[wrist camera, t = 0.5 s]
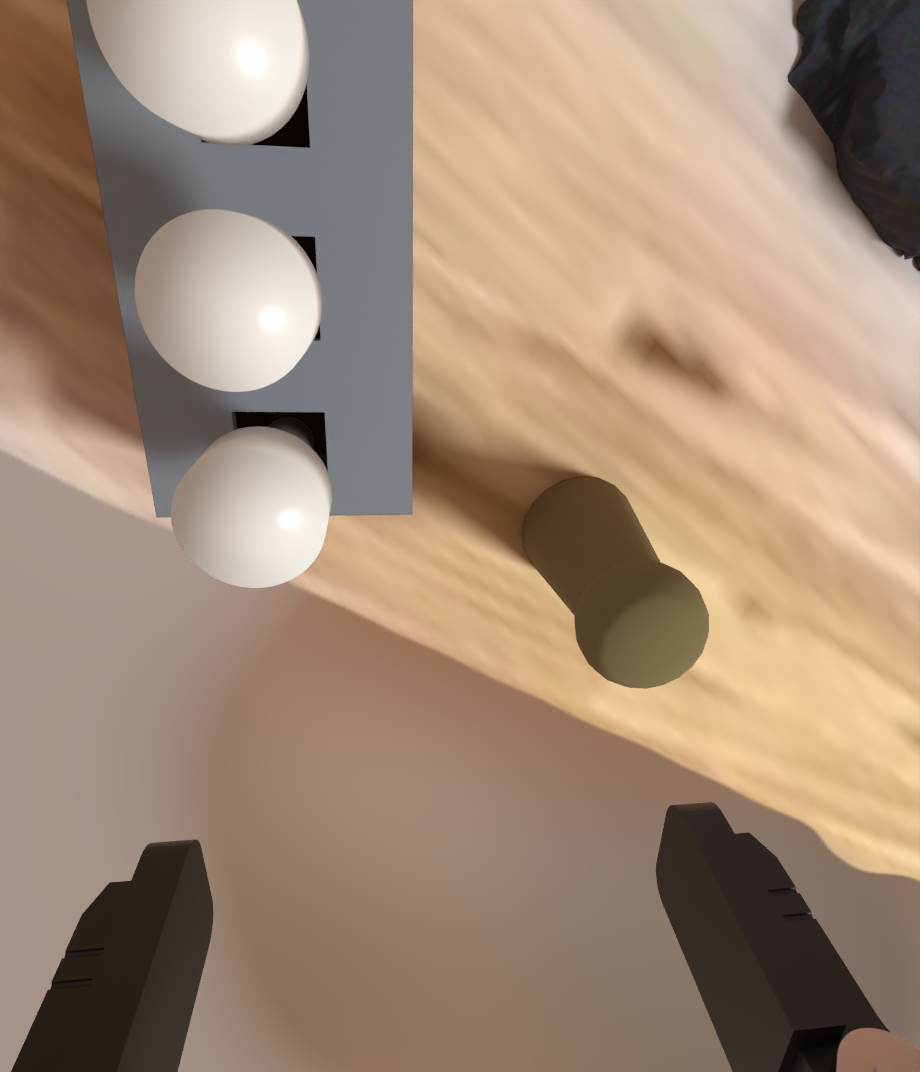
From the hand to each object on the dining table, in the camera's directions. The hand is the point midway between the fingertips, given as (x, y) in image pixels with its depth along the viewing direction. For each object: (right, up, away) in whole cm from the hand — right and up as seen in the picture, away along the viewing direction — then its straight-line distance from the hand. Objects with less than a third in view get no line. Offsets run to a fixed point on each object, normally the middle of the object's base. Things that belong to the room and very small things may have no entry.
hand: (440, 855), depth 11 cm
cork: (+7, +6, +23) cm, 25 cm away
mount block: (-7, +17, +17) cm, 24 cm away
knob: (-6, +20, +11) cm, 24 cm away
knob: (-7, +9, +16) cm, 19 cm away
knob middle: (-6, +15, +13) cm, 21 cm away
